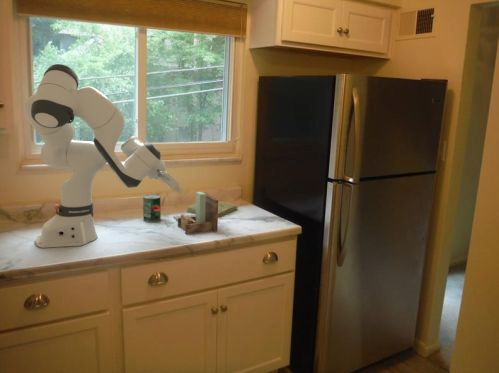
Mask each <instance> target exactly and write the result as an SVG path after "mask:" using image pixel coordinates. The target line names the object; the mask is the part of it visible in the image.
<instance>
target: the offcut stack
mask: <svg viewBox="0 0 499 373" xmlns="http://www.w3.org/2000/svg"><path fill="white" fill-rule="evenodd" d="M185 215H186V214H180V216H181V227H180V228H181V229H182V230H183V231H185V224H195V223H196V221H195V220H193V219H192V218H191V217H187V216H185Z"/></svg>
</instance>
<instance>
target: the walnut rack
mask: <svg viewBox="0 0 499 373" xmlns="http://www.w3.org/2000/svg"><path fill="white" fill-rule="evenodd" d="M205 194H206V201H205V222H204V223H195V224H185V232H184V234H186V235H191V234H199V233H200V234H201V233H209V232H214V233H217V232H218V225H219V224H218V223H219V222H218V219H219V217H218V201H219V199H217V198H215V197H213V196H212V195H210V194H209V193H207V192H206V193H205ZM191 218H192V219H193V220H195V221H196V216H193V217H191ZM177 227H178V228H181V218H178V221H177Z"/></svg>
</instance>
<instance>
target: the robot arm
mask: <svg viewBox="0 0 499 373" xmlns="http://www.w3.org/2000/svg"><path fill="white" fill-rule="evenodd" d="M23 111H24V114H25V116H26V118H27V119H28V122H29V123H30V125H31V126H32V128H33V129H34V130H35V131H36V133H37V135H39V137H40V138H41V139H42V141H43V143H44V144H43V145H42V147H41V149H40V157H41V161H42V162H43V163H44V165H46V166H50V167H52V168H55V169H65V170H66V169H67V170H72V174H71V175H72V176H71V177H70V178H68V179H66V180H64V181H63V182H62V184H61V186H60V197H61V198H60V200H61V201H60V202H61V203H60V204H59V203H56V204H54V206H53V207H54V209H55V213H56V214H55V215H54V216H52V218H50V219H49V220H47V221H46V222H44V224H43V226H42V229H41V233H40V234H39V235H38V236H36V237H35V240H34V241H35V245H36V246H37V247H39V248H41V249H42V248H60V247H64V248H65V247H78V246H80V247H81V246H84V245H86V244H88V243H91V242H93V241H95V240H97V238H98V234H97V231H96V227H95V223H94V215H95V214H94V213H95V212H94V210H95V209H94V203H93V202H92V201H93V200H92V197H93V196H92V193H93V182H94V179H95V177H96V176H97V174H98V172H99V171H101V170H102V169H103V168H104V167H105V166H106V165H107V164H108V166H109V167H110V169H111V170H112V171H113V173H114V174H115V176H116V178H117V180H118V181H119V182H120V183H121V184H122V185H123V186H124V187H126V188H130V189H131V188H137V187H138V186H139V185H140V184H141V183H142V182H143V180H144V179H145V177H147V178H149V179H151V180H153V179H154V180H158V181H159V182H161V183H163V184H164V185H166V186H167V187H168V188H169V189H171V190H173V191H176V192H177V193H178V194H179V195H181V194H183V192H184V190H183V189H182V188H181V187H180V183H179V182H178V180H177V179H175V178H174V176H173V175H171V174H170V173H169V172H167V167H166V163H165V161H163V159H162V158H161V156H162V155H161V152H160V150H158V149H156V147H155V146H154V145H153V144H152V142H144V141H143V140H141V139H140V138H139V137H137V136H136V135H131V136H129V137H128V138H127V139H126V141H124V142H123V144H122V145H121V146H120V150H121V151H122V153H123V154H124V155H125V156H126V157H127V158H126V159H125V160H124V161H123V162H122V161H121V160H120V159H119V157H118V155H116V152H115V148H116V146H117V143H118V141H119V139H120V136H121V135H122V133H123V130H124V129H125V128H124V126H125V119H124V118H125V117H124V115H123V113H122V112H121V111H120V109H119V108H118V107H117V106H116V104H114V102H113V101H112V100H110V99H109V98H108V97H107V96H106V95H105V94H104V93H102V92H101V91H99V90H98V89H96V88H95V87H92V86H83V87H81V88H79V76H78V74H77V72H76V71H75V70H74V69H73V68H72V67H69V66H68V65H65V64H62V63H61V64H60V63H56V64H52V65H51V66H49V67H48V68H47V69H46V70H45V72H44V74H43V76H42V78H41V80H40V81H39V84H38V86H37V89H36V93H35V94H33V95H31V96H29V97H28V98H27V99H25V101H24V104H23ZM75 117H76V118H80V119H81V120H82V121H83V122H84V123H85V124H86V125H87V126H89V128H90V129H91V130H92V132H93V135H94V138H93V141H87V140H75V139H74V137H75V128H74V126H73V124H72V123H73V122H74V120H75Z"/></svg>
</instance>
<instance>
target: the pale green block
mask: <svg viewBox="0 0 499 373" xmlns="http://www.w3.org/2000/svg"><path fill="white" fill-rule="evenodd" d="M205 201H206V194H205V193H204V192H203V191H196V192H195V204H196V214H195V215H196V223H204V222H205Z"/></svg>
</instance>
